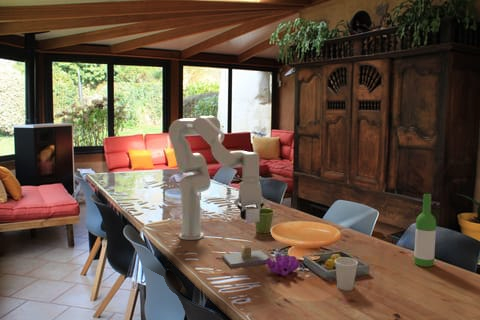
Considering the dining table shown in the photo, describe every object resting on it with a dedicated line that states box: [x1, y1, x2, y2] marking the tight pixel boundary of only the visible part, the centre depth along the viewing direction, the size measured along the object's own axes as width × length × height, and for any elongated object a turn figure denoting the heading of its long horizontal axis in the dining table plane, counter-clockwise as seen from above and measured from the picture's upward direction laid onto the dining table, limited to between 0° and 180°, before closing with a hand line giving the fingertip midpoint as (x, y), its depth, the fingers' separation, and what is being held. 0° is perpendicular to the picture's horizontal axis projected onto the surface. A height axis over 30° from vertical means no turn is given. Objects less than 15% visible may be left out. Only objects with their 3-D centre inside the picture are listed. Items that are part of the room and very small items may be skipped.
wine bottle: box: [413, 193, 437, 268], centre depth 179 cm, size 8×8×30 cm
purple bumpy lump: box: [265, 254, 302, 277], centre depth 171 cm, size 11×15×10 cm
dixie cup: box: [334, 257, 358, 291], centre depth 157 cm, size 8×8×10 cm
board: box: [221, 244, 270, 268], centre depth 185 cm, size 12×18×6 cm, turn 109°
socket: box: [240, 205, 260, 224], centre depth 195 cm, size 6×6×6 cm
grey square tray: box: [302, 250, 371, 282], centre depth 176 cm, size 19×19×4 cm
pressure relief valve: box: [324, 254, 341, 270], centre depth 174 cm, size 6×12×10 cm
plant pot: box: [254, 207, 276, 234], centre depth 227 cm, size 12×12×11 cm
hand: (250, 218), depth 196 cm, fingers closed on socket, 6 cm apart
